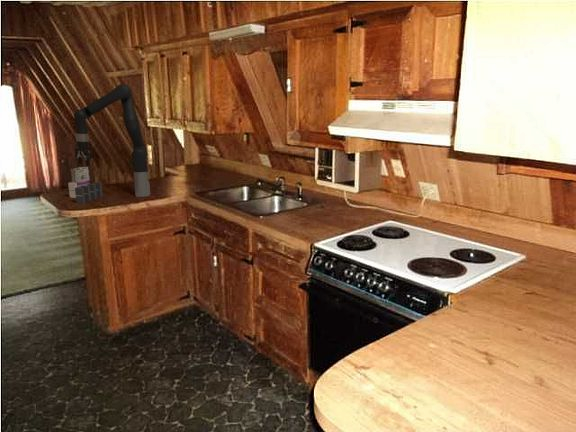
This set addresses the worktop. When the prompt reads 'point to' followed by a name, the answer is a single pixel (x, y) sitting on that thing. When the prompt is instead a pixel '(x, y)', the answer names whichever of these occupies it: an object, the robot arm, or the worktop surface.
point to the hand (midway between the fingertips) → (83, 164)
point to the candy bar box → (80, 176)
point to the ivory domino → (72, 189)
